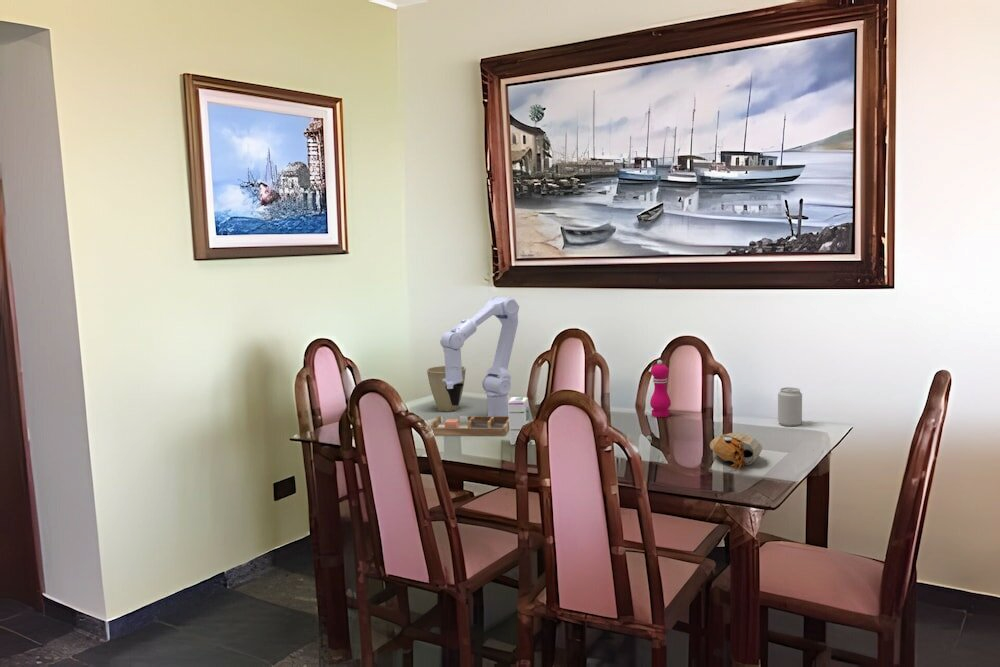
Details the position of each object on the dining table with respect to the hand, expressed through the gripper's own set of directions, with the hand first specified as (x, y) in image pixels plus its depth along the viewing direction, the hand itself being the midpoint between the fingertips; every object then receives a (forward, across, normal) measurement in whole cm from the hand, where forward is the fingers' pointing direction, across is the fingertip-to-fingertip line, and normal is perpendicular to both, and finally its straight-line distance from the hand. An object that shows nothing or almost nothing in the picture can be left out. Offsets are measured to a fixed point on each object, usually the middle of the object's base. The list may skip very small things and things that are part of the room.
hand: (455, 405), depth 280 cm
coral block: (+8, +7, 0) cm, 10 cm away
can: (+9, -5, +112) cm, 113 cm away
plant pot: (+9, -28, -9) cm, 31 cm away
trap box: (+8, +3, +6) cm, 11 cm away
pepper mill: (+9, -17, +70) cm, 73 cm away
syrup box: (+9, +17, +25) cm, 31 cm away
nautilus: (+9, +39, +89) cm, 97 cm away
